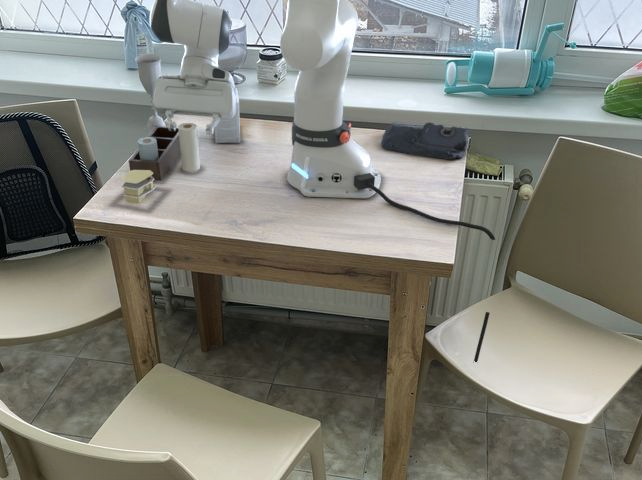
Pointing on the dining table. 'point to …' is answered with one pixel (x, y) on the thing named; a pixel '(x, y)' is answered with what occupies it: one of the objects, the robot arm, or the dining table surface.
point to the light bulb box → (229, 127)
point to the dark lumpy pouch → (426, 140)
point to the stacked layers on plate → (137, 185)
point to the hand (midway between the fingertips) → (190, 131)
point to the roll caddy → (159, 153)
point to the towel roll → (189, 146)
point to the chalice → (150, 81)
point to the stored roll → (148, 149)
